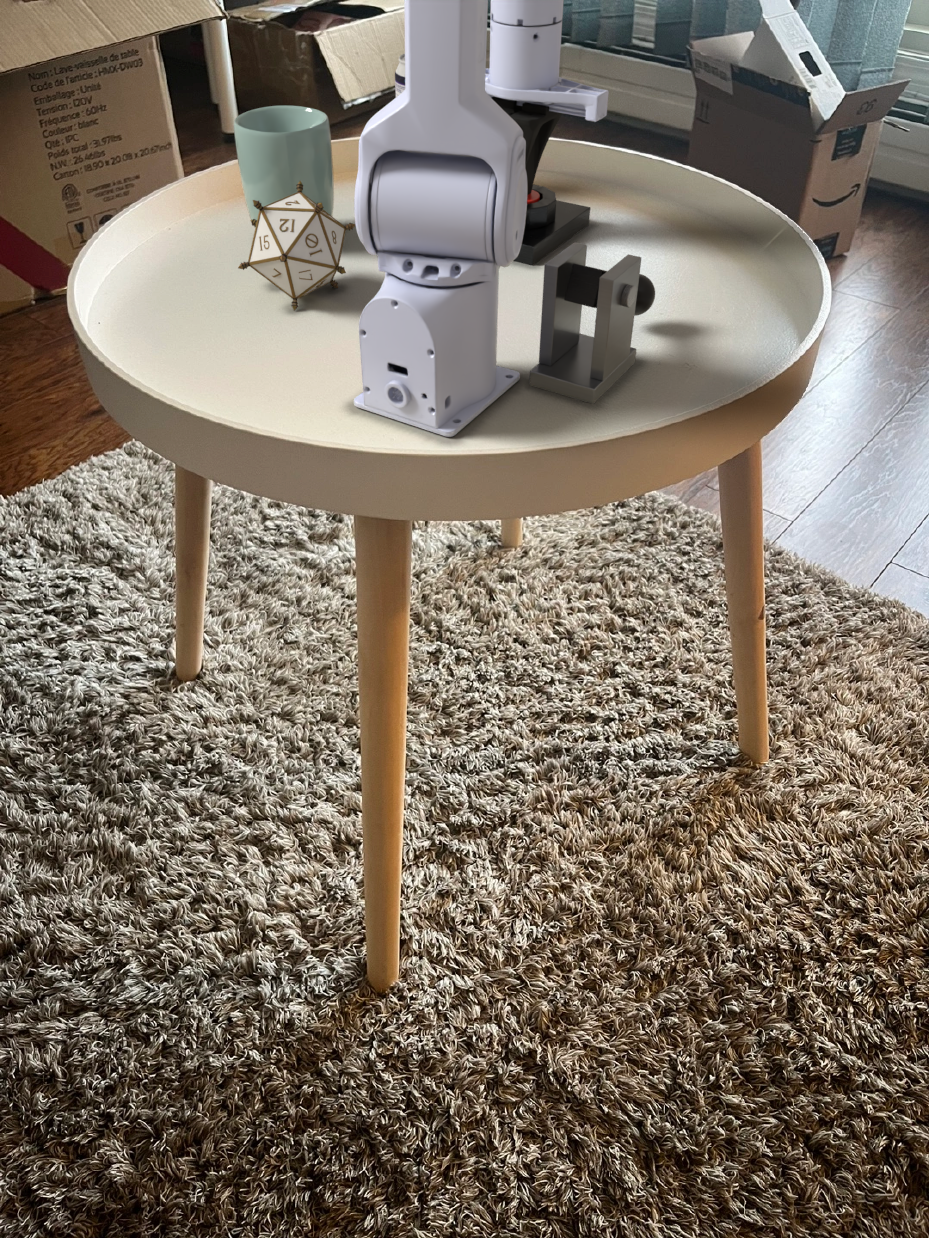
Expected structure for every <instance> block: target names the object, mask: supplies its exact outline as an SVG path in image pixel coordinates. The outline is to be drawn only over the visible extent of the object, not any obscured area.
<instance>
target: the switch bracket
mask: <svg viewBox="0 0 929 1238" xmlns="http://www.w3.org/2000/svg"><path fill="white" fill-rule="evenodd" d="M587 251H588V244H585V243H579V242H577V241H576V242H572V243H571V244H570V245H568V246H567V247H565V248H564V249H563V250H562V251H560V252H559V253H557V254H556V255H555V256H553V257H552V258H550V259H549V260H548V261H547V262H545V263H544V267H543V283H542V284H543V285H542V301H541V315H540V316H541V317H540V319H541V320H540V335H539V350H538V351H539V353H538V363H537V364H536V365H535V366H534V367H533V368H532V369H531V370H529V384H528V385H529V386H531V387H534V388H538V389H540V390H545V391H548V392H551V393H555V394H558V395H561V396H565V397H568V398H571V399H575V400H578V401H581V402H585V403H589V404H591V405H592V404H593V405H594V404H595V403H596V402H597V401H598V400H599V399H600V398H601V397H602V396H603V395H604V394H605V393H606V392H607V391H609V389H610V388H612V386H613V385H615V383H617V381H618V380H619V379H620V378H621V377H622V376H623V375H624V374H625V373H627V371H629V369H631V367H633V365H634V364H635V363H636V357H637V348H635V347H632V338H633V331H634V330H633V329H634V323H635V322H634V321H635V316H634V315H635V307H636V299H637V291H638V283H639V275H640V274H641V267H642V257H641V256H637V255H633V254H627V255H626V256H624V257H623V258H622V259H621V260H619V261H618V262H617V263H616V264H614V265H613V266H612V267H610V268H609V269H608V270H606V271H607V272H606V273H605V274H603V275H602V276H601V277H600V281H599V291H598V301H597V308H596V311H595V312H596V313H595V324H594V333H593V336H590V335H587V334H583V333H581V322H582V310H583V305H581V304H577V303H573V302H569V301H565V300H564V299H565V295H566V291H567V286H568V282H569V278H570V274H571V270H572V266H573V263H575V264H579V265H584V266H587V265H586V264H587V263H586V262H587V254H588V253H587Z"/></svg>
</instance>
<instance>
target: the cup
mask: <svg viewBox="0 0 929 1238" xmlns="http://www.w3.org/2000/svg"><path fill="white" fill-rule="evenodd" d="M233 134H234V144H235V149H236V156H237V163H238V171H239V177H240V183H241V188H242V194H243V198H244V202H245V206H246V210H247V213H248V216H249V218H250V220H253V219H256V220H257V219H258V214H259V209H257V208H256V207H254V203H253V200H256V201H259V202H260V203H261V205H262V206H266V205H268V204H271V203H273V202H275V201H278V200H280V199H282V198H285V197H287V196H290V195H292V194H294V193H297V189H296V188H297V186H296V185H297V184H298V183H299V181H301V183H302V184H303V190H302V193H303V194H304V195H306V196H307V197H308V198H309V199H311V200H312V201H313V202H315V203H316V204H317V203H322V205H323V207H324V208H323V210H325V211H326V212H327V213H328V214H330V215H331V216H332V217H333V215H334V209H335V208H334V205H335V177H334V176H335V175H334V160H333V146H332V145H333V144H332V136H331V135H332V134H331V126H330V120H329V117H328V115H327V114H326V113H325V112H323V111H322V110H319V109H315V108H313V107H307V106H300V105H272V106H271V105H270V106H263V107H259V108H254V109H251V110H248V111H246V112H243V113H241V114H239V115H238V116H237V117H236V118H235V119H234V121H233ZM255 228H256V227H254V229H255Z"/></svg>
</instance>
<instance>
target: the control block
mask: <svg viewBox="0 0 929 1238" xmlns="http://www.w3.org/2000/svg"><path fill="white" fill-rule="evenodd" d="M532 190H534V191H536V192H538V193H539V195H540V199H539V201H538V202H536V203H531V204H527V210H526V220H525V228H524V234H523V240H522V245H521V248H520V252H519V254H518V256H517V258H516V259H515V260H513V261H512V262H516V263H519V264H520V263H521V264H524V265H528V266H532V267H533V266H535V265H536V264H537V263H539V262H540V261H541V260H542V259H544V258H545V257H547V256H549V255H550V254H551V253H552V252H553V251H556V250H557V249H558V248H559V247H561V246H563V244H565V243H566V242H568V241H569V240H570V239H572V238H573V237H575V236H576V235H578V234H579V233H580V232H582V231H583V230H584V229H586V228H587V227H588V226H589V225H590V216H591V206H586V205H582V204H577V203H573V202H567V201H562V200H558V199H557V195H556V192H555V191H553V190H552V189H550V188H548V187H546V186H542V185H538V184H534V183H533V187H532Z"/></svg>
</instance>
